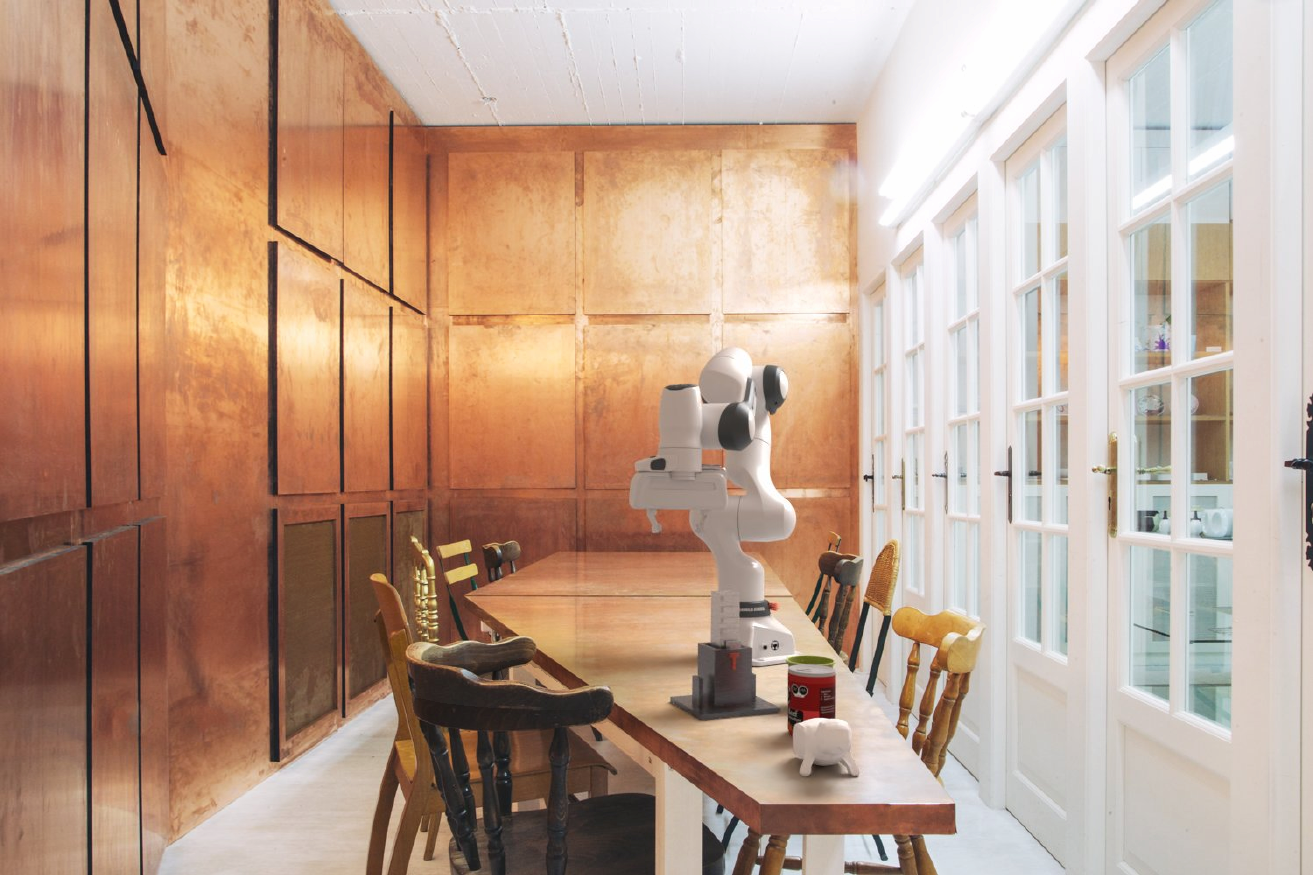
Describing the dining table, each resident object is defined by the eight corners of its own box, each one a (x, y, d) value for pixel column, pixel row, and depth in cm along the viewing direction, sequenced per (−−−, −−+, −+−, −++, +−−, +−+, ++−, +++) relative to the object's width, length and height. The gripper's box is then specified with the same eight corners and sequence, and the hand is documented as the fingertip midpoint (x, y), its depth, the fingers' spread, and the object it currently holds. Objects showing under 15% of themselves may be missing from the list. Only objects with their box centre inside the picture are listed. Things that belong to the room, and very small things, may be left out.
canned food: (784, 727, 154) (785, 663, 154) (831, 728, 153) (831, 664, 154) (790, 740, 146) (790, 672, 147) (839, 741, 146) (839, 673, 146)
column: (729, 695, 170) (730, 590, 171) (740, 701, 165) (741, 593, 166) (708, 697, 168) (709, 590, 169) (719, 703, 164) (720, 593, 165)
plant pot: (780, 708, 167) (780, 661, 167) (791, 697, 175) (791, 653, 176) (830, 714, 163) (830, 666, 164) (839, 702, 172) (839, 657, 172)
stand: (744, 695, 176) (745, 629, 177) (780, 712, 163) (780, 641, 164) (670, 701, 171) (671, 633, 171) (700, 720, 158) (701, 646, 158)
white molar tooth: (789, 780, 136) (811, 772, 122) (785, 722, 139) (806, 708, 126) (844, 779, 136) (872, 772, 123) (839, 721, 140) (865, 708, 126)
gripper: (720, 465, 185) (719, 532, 184) (627, 462, 178) (625, 532, 177) (733, 464, 179) (732, 533, 178) (637, 461, 172) (636, 533, 171)
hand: (678, 532), depth 178 cm, fingers open, 8 cm apart
